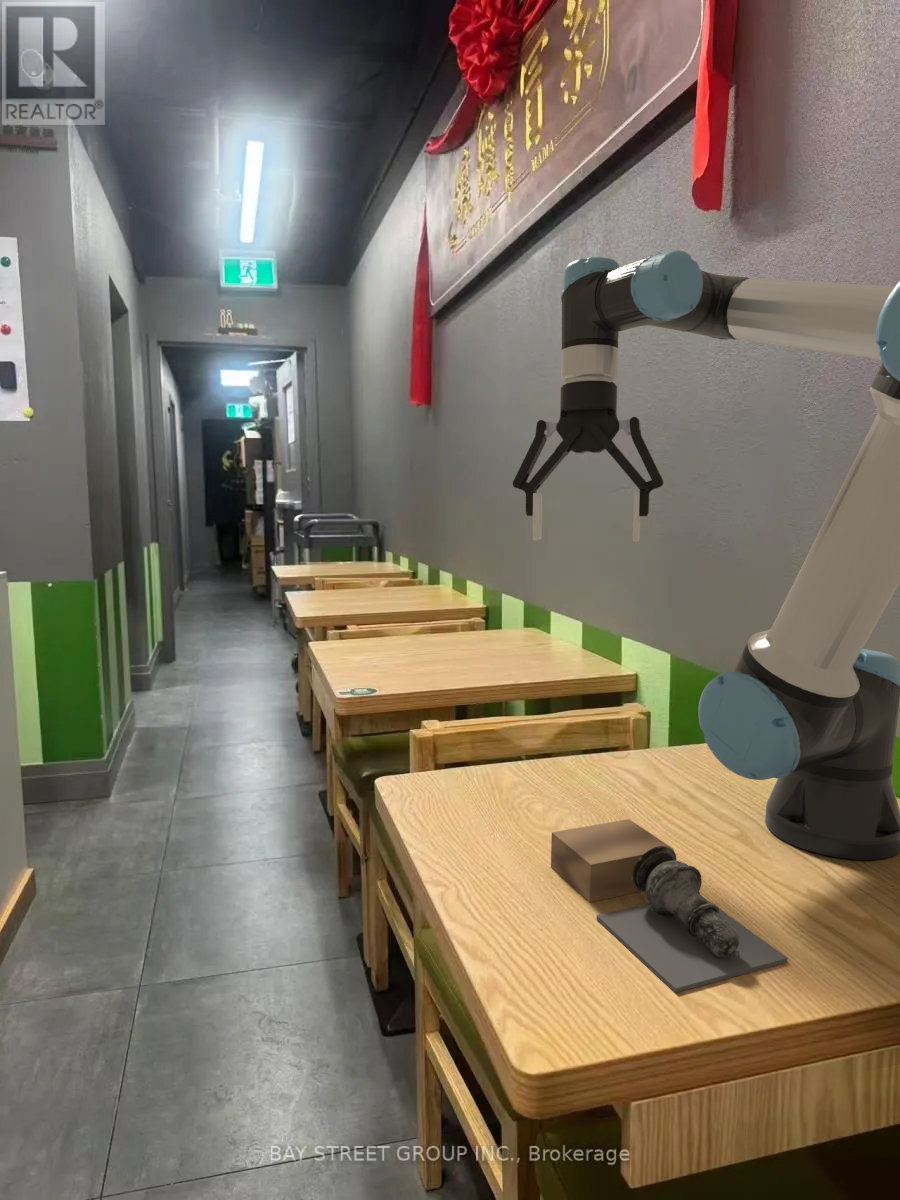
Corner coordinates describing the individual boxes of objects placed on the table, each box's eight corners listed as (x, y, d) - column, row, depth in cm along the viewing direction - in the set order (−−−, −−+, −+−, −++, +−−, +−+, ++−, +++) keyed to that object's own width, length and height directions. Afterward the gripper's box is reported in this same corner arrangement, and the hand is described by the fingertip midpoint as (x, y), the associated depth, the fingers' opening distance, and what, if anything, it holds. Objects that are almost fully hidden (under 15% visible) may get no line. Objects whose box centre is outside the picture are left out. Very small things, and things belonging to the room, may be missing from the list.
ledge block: (550, 866, 86) (551, 832, 86) (627, 852, 90) (629, 819, 89) (589, 902, 79) (590, 864, 78) (671, 884, 82) (673, 848, 82)
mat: (697, 896, 80) (697, 893, 80) (787, 962, 69) (787, 957, 69) (596, 919, 76) (596, 915, 76) (675, 992, 65) (675, 988, 65)
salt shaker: (663, 832, 76) (752, 918, 66) (686, 862, 79) (775, 948, 69) (619, 874, 76) (701, 966, 65) (644, 902, 79) (726, 995, 68)
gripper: (685, 382, 106) (680, 540, 108) (505, 390, 113) (504, 538, 116) (684, 373, 98) (678, 543, 101) (492, 383, 106) (491, 540, 109)
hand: (585, 540), depth 108 cm, fingers open, 13 cm apart
